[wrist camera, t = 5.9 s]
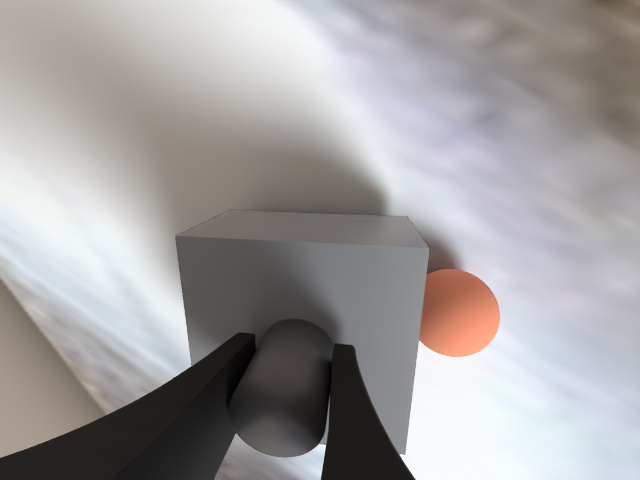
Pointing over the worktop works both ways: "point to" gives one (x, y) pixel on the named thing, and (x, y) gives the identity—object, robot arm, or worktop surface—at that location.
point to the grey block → (306, 315)
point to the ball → (457, 313)
